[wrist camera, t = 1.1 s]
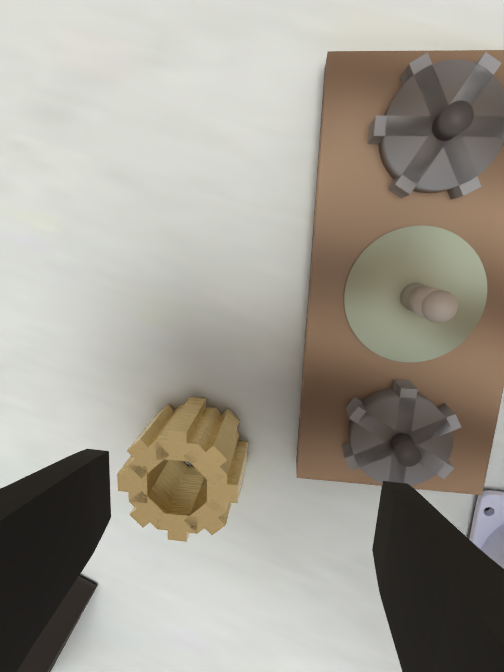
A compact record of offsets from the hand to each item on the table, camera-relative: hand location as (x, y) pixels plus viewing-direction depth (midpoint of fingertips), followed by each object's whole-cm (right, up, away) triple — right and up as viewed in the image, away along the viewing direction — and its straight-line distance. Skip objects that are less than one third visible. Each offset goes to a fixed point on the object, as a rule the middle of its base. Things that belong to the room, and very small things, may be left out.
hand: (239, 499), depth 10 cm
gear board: (+8, +6, +8) cm, 13 cm away
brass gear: (-3, -2, +11) cm, 12 cm away
